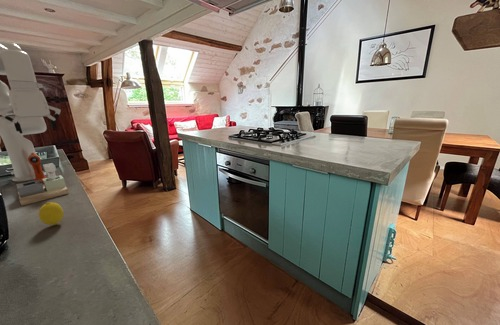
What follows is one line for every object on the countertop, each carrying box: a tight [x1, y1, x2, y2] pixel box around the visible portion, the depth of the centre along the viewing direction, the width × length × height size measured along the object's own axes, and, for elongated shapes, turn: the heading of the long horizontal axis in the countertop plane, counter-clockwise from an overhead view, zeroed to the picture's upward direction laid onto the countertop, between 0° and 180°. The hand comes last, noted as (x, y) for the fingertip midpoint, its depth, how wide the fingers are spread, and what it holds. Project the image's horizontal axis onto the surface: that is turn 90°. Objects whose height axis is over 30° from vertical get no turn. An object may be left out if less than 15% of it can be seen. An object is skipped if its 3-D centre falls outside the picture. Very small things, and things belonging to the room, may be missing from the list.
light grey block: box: [42, 162, 57, 181], centre depth 91 cm, size 7×3×10 cm, turn 49°
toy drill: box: [28, 153, 48, 185], centre depth 100 cm, size 5×19×15 cm, turn 46°
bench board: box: [17, 185, 70, 206], centre depth 90 cm, size 14×14×2 cm
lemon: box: [38, 201, 65, 226], centre depth 67 cm, size 6×6×8 cm
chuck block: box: [16, 179, 45, 198], centre depth 87 cm, size 7×7×4 cm
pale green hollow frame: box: [42, 174, 67, 191], centre depth 92 cm, size 6×6×4 cm
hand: (38, 131), depth 86 cm, fingers open, 9 cm apart
